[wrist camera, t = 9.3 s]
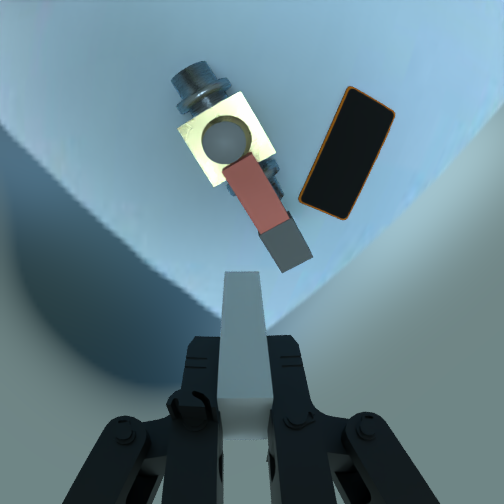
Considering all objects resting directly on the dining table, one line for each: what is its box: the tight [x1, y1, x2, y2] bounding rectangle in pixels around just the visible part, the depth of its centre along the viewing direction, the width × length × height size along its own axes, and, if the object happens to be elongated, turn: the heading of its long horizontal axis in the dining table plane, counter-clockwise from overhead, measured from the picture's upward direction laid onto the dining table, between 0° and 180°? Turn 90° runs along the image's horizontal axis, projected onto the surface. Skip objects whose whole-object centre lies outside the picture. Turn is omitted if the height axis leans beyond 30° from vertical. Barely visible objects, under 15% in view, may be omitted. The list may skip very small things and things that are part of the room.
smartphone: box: [298, 86, 395, 220], centre depth 34 cm, size 8×17×1 cm, turn 159°
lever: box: [202, 121, 313, 273], centre depth 27 cm, size 4×15×4 cm, turn 30°
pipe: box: [171, 61, 284, 200], centre depth 30 cm, size 18×7×8 cm, turn 29°
